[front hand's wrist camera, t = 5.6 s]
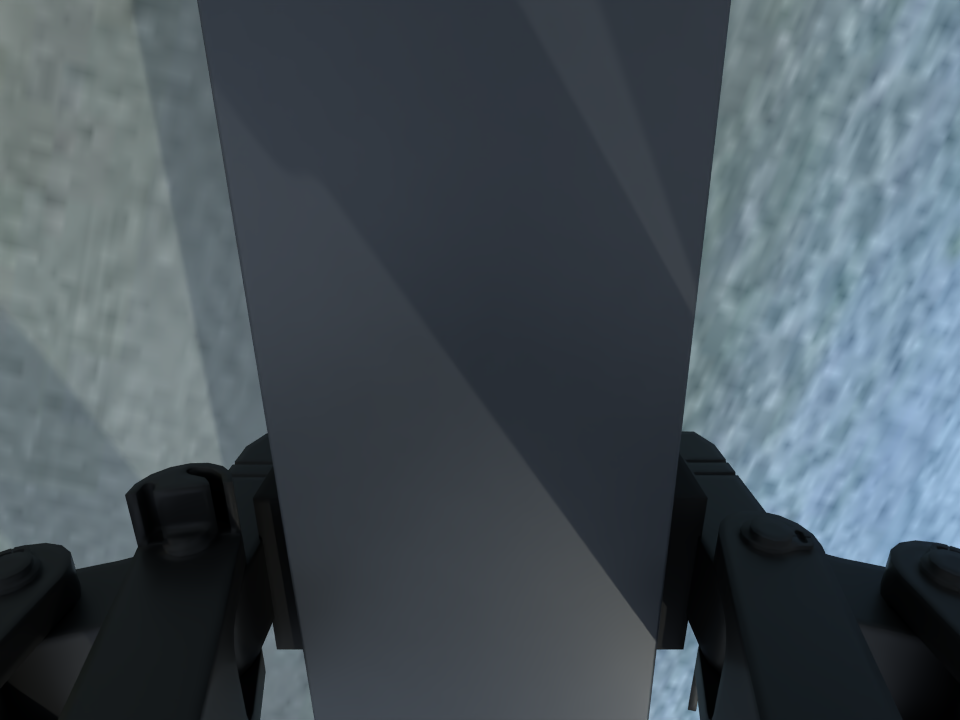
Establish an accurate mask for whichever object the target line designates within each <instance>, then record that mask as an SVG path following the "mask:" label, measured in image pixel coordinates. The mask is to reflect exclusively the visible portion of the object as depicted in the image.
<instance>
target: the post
mask: <svg viewBox="0 0 960 720" xmlns="http://www.w3.org/2000/svg"><path fill="white" fill-rule="evenodd" d="M197 2H198V8H199V14H200V20H201V26H202V32H203V39H204V45H205V51H206V57H207V63H208V69H209V75H210V82H211V88H212V94H213V100H214V106H215V112H216V118H217V124H218V131H219V137H220V143H221V149H222V155H223V161H224V167H225V173H226V180H227V186H228V192H229V198H230V204H231V210H232V216H233V222H234V229H235V235H236V241H237V247H238V253H239V259H240V265H241V272H242V278H243V284H244V290H245V296H246V302H247V308H248V314H249V321H250V327H251V333H252V339H253V345H254V351H255V357H256V363H257V370H258V376H259V382H260V388H261V394H262V400H263V406H264V412H265V419H266V425H267V431H268V437H269V443H270V449H271V455H272V462H273V468H274V474H275V480H276V486H277V492H278V498H279V504H280V511H281V517H282V523H283V529H284V535H285V541H286V547H287V553H288V560H289V566H290V572H291V578H292V584H293V590H294V596H295V603H296V609H297V615H298V621H299V627H300V633H301V639H302V645H303V652H304V658H305V664H306V670H307V676H308V682H309V688H310V694H311V701H312V707H313V713H314V719H315V720H648V719H649V710H650V701H651V693H652V684H653V675H654V666H655V658H656V649H657V640H658V632H659V623H660V614H661V605H662V597H663V588H664V579H665V571H666V562H667V553H668V544H669V536H670V527H671V518H672V510H673V501H674V492H675V484H676V475H677V466H678V457H679V449H680V440H681V431H682V423H683V414H684V405H685V396H686V388H687V379H688V370H689V362H690V353H691V344H692V335H693V327H694V318H695V309H696V301H697V292H698V283H699V275H700V266H701V257H702V248H703V240H704V231H705V222H706V214H707V205H708V196H709V187H710V179H711V170H712V161H713V153H714V144H715V135H716V126H717V118H718V109H719V100H720V92H721V83H722V74H723V65H724V57H725V48H726V39H727V31H728V22H729V13H730V5H731V0H197Z"/></svg>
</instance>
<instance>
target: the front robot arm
mask: <svg viewBox="0 0 960 720" xmlns="http://www.w3.org/2000/svg"><path fill="white" fill-rule="evenodd" d="M125 497H126V501H127V505H128V509H129V512H130V516H131V520H132V524H133V528H134V532H135V536H136V540H137V544H138V548H137V550H136V552H135V555H134V557H131V558H128V559H124V560H120V561H115V562H110V563H105V564H100V565H96V566H91V567H86V568H81V569H75V565H74V562H73V559H72V555H71V552H70V551H68V550H67V549H66V548H64V547H63V546H62V545H56V544H49V543H42V544H33V545H24V546H19V547H15V548H14V549H8V550H5V551H2V552H0V720H260V716H261V707H262V698H263V690H264V681H265V665H264V658H263V652H262V646H263V643H264V641H265V639H266V636H267V634H268V632H269V629H270V627H271V625H272V622H273V627H274V634H275V640H276V646H277V649H303V645H302V639H301V633H300V627H299V621H298V615H297V609H296V603H295V596H294V590H293V584H292V578H291V572H290V566H289V560H288V553H287V547H286V541H285V535H284V529H283V523H282V517H281V511H280V504H279V498H278V492H277V486H276V480H275V474H274V468H273V462H272V455H271V449H270V443H269V437H268V434H265V435H264V436H262V437H261V438H259V439H257V440H256V441H254V442H253V443H251V444H250V445H248V446H246V448H245V449H244V450H243V452H242V453H241V454H240V456H239V457H238V458H237V460H236V461H235V465H232V466H231V468H230V469H229V470H227V469H226V468H225V467H223V466H220V465H216V464H211V463H189V464H184V465H179V466H174V467H170V468H167V469H164V470H162V471H159V472H156V473H154V474H151V475H149V476H148V477H146V478H144V479H143V480H141V481H139V482H138V483H136V484H135V485H134V486H133V487H132V488H131V489H130V490H129V491H128V492H127V493H126V494H125ZM688 621H689V623H690V625H691V628H692V630H693V632H694V635H695V637H696V639H697V642H698V644H699V647H698V652H697V658H696V664H695V670H694V676H693V681H692V687H691V693H690V699H689V706H688V710H692V711H696V708H697V702H698V706H699V714H700V720H960V549H958V548H955V547H952V546H950V547H949V546H947V545H945V544H940V543H934V542H925V541H916V540H915V541H908V542H902V543H899V544H897V545H896V546H895V547H894V548H892V549H891V551H890V554H889V557H888V561H887V564H886V567H883V566H878V565H873V564H868V563H863V562H858V561H853V560H848V559H843V558H839V557H835V556H831V555H827V554H825V551H824V549H823V547H822V545H821V544H820V543H819V542H818V540H817V539H816V538H815V536H814V535H813V534H812V533H810V532H809V531H808V530H806V529H805V528H803V527H802V526H801V525H799V524H798V523H795V522H793V521H791V520H788V519H786V518H784V517H782V516H779V515H775V514H770V513H766V512H765V510H764V509H763V508H762V506H761V505H760V504H759V502H758V501H757V500H756V499H755V497H754V496H753V495H752V493H751V492H750V491H749V489H748V488H747V487H746V485H745V484H744V483H743V482H742V480H741V479H740V478H739V476H738V475H735V471H734V470H733V468H732V467H731V466H730V465H729V463H726V459H725V458H724V457H723V455H722V454H721V453H720V451H719V450H718V449H717V448H716V446H715V445H714V444H713V443H711V442H709V441H708V440H706V439H705V438H703V437H701V436H700V435H698V434H697V433H695V432H681V440H680V449H679V457H678V466H677V475H676V484H675V492H674V501H673V510H672V518H671V527H670V536H669V544H668V553H667V562H666V571H665V579H664V588H663V597H662V605H661V614H660V623H659V632H658V640H657V649H684V642H685V636H686V630H687V624H688Z"/></svg>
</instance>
